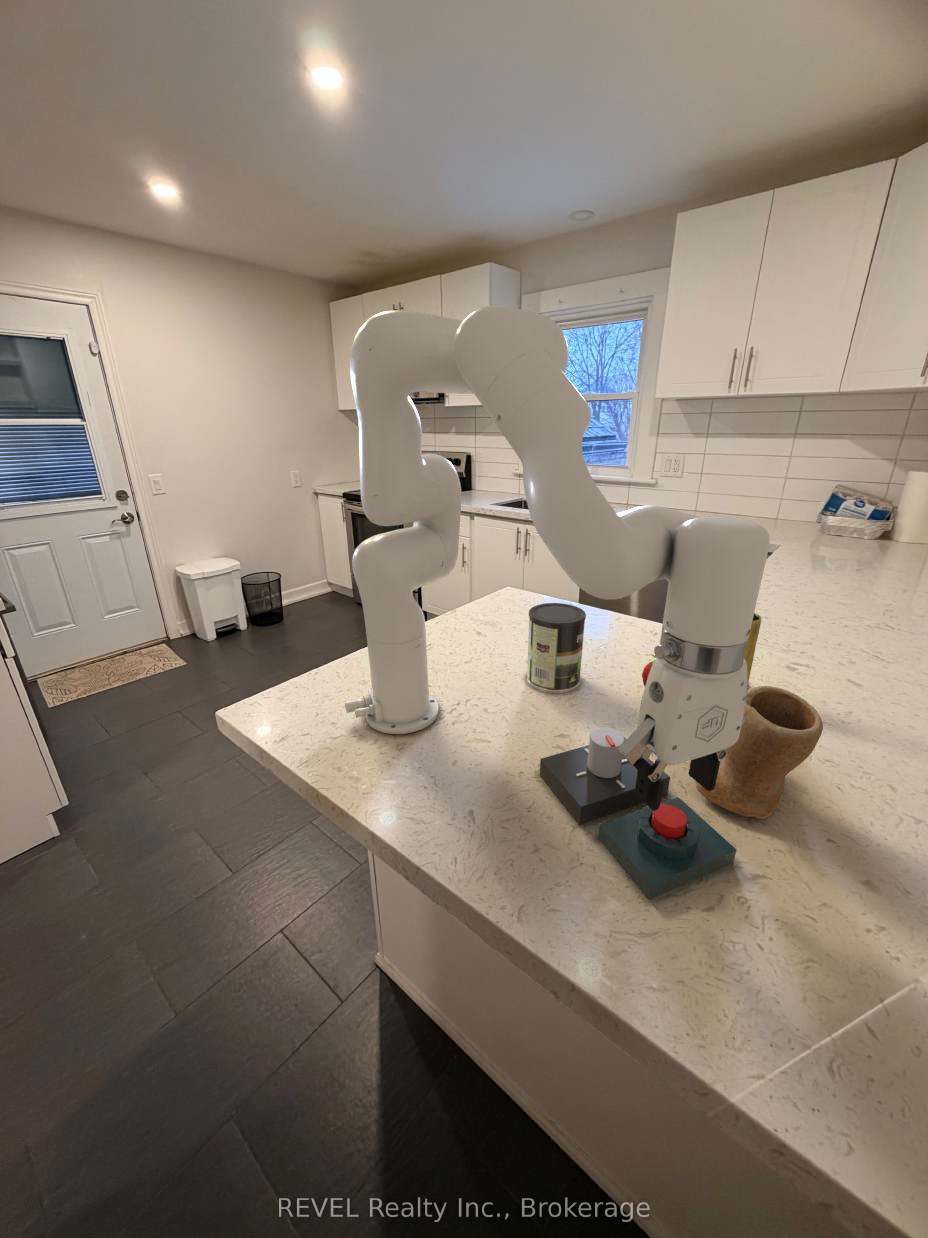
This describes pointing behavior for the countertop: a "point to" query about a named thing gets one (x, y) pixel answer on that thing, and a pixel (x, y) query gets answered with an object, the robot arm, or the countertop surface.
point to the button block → (665, 850)
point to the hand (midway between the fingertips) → (674, 790)
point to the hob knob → (605, 752)
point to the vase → (752, 643)
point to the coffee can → (555, 647)
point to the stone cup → (765, 752)
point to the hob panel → (591, 785)
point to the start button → (669, 821)
